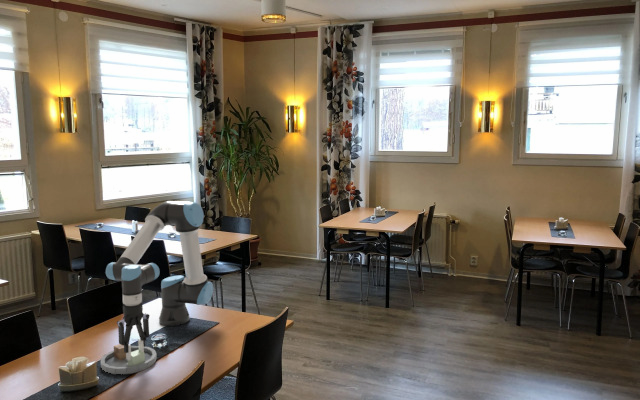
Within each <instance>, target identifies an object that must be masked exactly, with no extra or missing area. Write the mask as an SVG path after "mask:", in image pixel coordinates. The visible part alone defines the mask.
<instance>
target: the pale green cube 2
mask: <svg viewBox="0 0 640 400" xmlns="http://www.w3.org/2000/svg"><path fill="white" fill-rule="evenodd" d="M127 360H128V359H127ZM143 362H145V353H144V352H142V351H140V350H136V351H133V352H131V360H128V365H129V366H133V365H137V364H140V363H143Z"/></svg>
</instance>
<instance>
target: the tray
mask: <svg viewBox="0 0 640 400" xmlns="http://www.w3.org/2000/svg"><path fill="white" fill-rule="evenodd" d="M136 350H139V345H131V352H133V351H136ZM144 353H145V362H143V363H140V364H137V365H133V366H129V365H128V360H127V359H126V358H125V359H122V360H119V359H117V358H115V357H114V349H113V350H111V351H109V352H107V353H106V354H104V355H103V356H102V357H101V359H100V368H102V369H101V370H102V371H103V370H104V371H105V372H104V371H103V372H104V373H106V372H108V373H107V374H109V373H111V374H110V375H116V374H121V375H122V374H123V375H131V374H135V373H140V372H142V371H144V370H148V369H149V368H151V367H152V366H153V365H154V364H156V362H157V359H158V358H157V356H158V355H157V351H156V350H155V349H154V348H152V347H149V346H145V347H144Z"/></svg>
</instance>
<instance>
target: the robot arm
mask: <svg viewBox="0 0 640 400" xmlns="http://www.w3.org/2000/svg"><path fill="white" fill-rule="evenodd" d="M204 215H205V214H204V210H203V208H202V206H201V204H199V203H198V202H195V201H189V200H188V201H183V200H182V201H181V200H180V201H179V200H177V201H176V200H175V201H173V200H167V201H164V202H162V203H160V204H158V205H157V206H155V207H154V208H153V209H152V210H151V211H150V212H149V213H148V214H147V215H146V217H145V218H144V221H145V222H144V224H142V226H141V228H139V230H138V232H137V233H136V235H134V238H133V239H132V240H131V242H130V243H129V244H128V246H127V247H126V248H125V250H124V251H123V253H122V254H121V256H120V257H119V258H118V260H117V261H116V262H115V261H114V262H113V261H112V262H110V263H108V264H107V265H106V268H105V275H106V277H107V279H109V280H113V281H121V289H122V291H121V292H122V312H123V316H122V319H121V320H117V321H116V325H117V328H118V344H121V345H124V352H125V353H126V359H128V360H131V346H132V345H131V344H130V340H131V335H132V331H133V327H134V326H136V329H137V333H138V335H139V339H138V341H137V342H138V346H139V350H140V351H142V352H144V347H146V340H147V338H150V325H149V323H150V322H149V319H150V314H149V313H146V312H145V313H143V309H144V308H143V292H142V291H143V290H142V287H143V286H144V285H146V284H148V283H151V282H153V281H155V280H157V279H158V277H159V276H160V268H159V266H158V265H157V264H156V263H154V262H150V263H146V264H138V263H139V262H140V259H142V257H143V256H144V254H145V253H146V251H147V250H148V248H149V247H150V245H151V243H152V242H153V241H154V239H155V238H156V236H157V235H158V233H159V232H160V231H163V230H164V228H165V227H166V226H174V227H175V231H176V232H177V233H178V234H179V238H180V245H181V252H182V257H183V258H182V259H183V266H184V271H185V276H184V275H179V274H178V275H173V276H168V277H166V278H165V277H164V279H162V280H161V283H160V286H161V287H160V289H161V310H160V315H159V318H158V321H159V322H158V323H159V324H160V325H162V326H166V327H168V326H169V327H174V326H175V325H176V326H180V324H181V325H184V324H187V323H188V322H189V321H190V314H189V313H190V312H189V310H188V309H187V305H186V304H192V305H197V306H199V305H207V304H208V303H209V302H210V301H211V298H212V296H213V292H214V285H213V283H212V282H211V281H208V276H207V275H206V274H204V269H203V261H202V254H201V246H200V240H199V239H200V238H199V232H198V231H199V230H200V228H201V225H202V224H203V223H204V217H205V216H204Z"/></svg>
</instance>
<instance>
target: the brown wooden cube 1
mask: <svg viewBox="0 0 640 400" xmlns="http://www.w3.org/2000/svg"><path fill="white" fill-rule="evenodd" d="M113 350H114V357H115V358H117V359H119V360H122V359H125V358H126V353H125V352H124V345H121V344H119V343H118V344H115V345H113Z"/></svg>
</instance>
